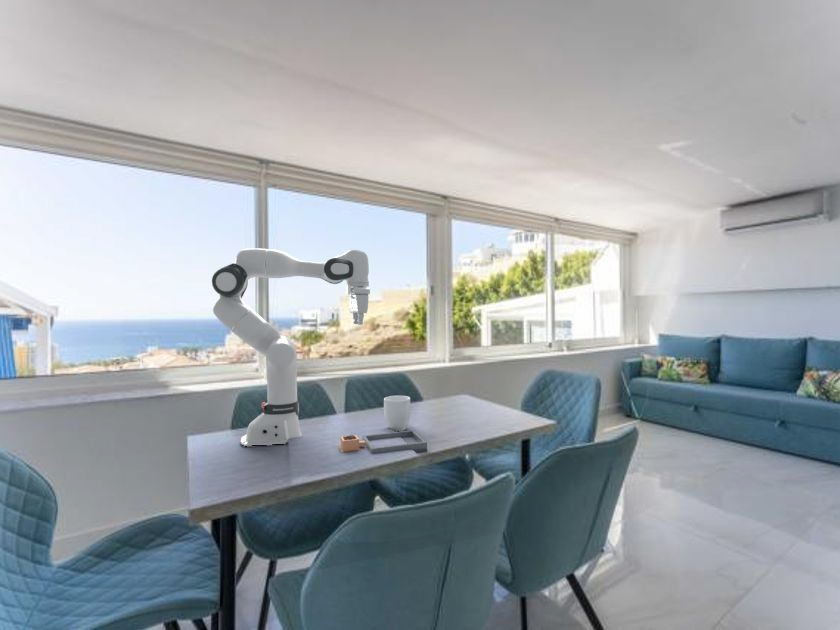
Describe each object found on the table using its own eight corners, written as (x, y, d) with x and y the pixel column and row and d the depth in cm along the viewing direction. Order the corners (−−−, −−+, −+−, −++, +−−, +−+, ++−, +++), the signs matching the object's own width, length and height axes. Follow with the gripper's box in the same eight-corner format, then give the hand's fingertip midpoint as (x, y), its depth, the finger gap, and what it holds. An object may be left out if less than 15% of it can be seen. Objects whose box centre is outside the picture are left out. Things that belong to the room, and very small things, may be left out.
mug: (395, 422, 188) (395, 392, 188) (418, 424, 184) (418, 394, 183) (379, 431, 174) (378, 399, 174) (403, 434, 170) (403, 402, 170)
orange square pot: (341, 456, 145) (341, 439, 145) (338, 450, 152) (338, 433, 152) (361, 454, 148) (361, 437, 147) (357, 448, 154) (357, 431, 154)
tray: (371, 457, 144) (371, 448, 144) (362, 443, 159) (362, 435, 159) (427, 450, 150) (427, 442, 150) (413, 437, 166) (413, 430, 166)
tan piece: (343, 451, 146) (342, 441, 146) (340, 446, 151) (340, 436, 151) (366, 448, 149) (366, 438, 149) (363, 443, 154) (363, 434, 154)
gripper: (345, 291, 182) (346, 323, 182) (354, 289, 162) (354, 325, 162) (360, 291, 184) (360, 323, 184) (370, 289, 164) (371, 325, 165)
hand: (358, 324), depth 173 cm, fingers open, 8 cm apart
